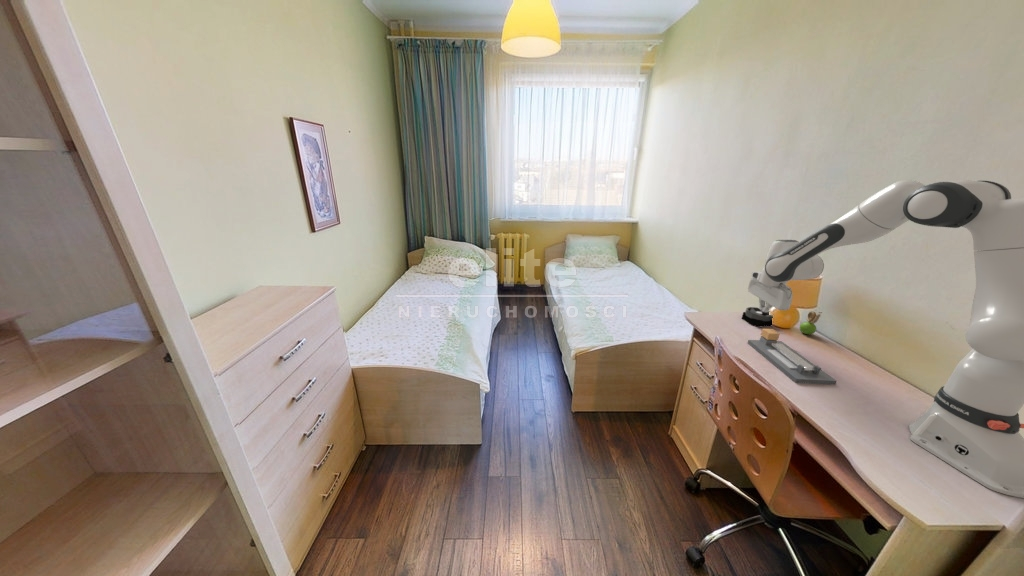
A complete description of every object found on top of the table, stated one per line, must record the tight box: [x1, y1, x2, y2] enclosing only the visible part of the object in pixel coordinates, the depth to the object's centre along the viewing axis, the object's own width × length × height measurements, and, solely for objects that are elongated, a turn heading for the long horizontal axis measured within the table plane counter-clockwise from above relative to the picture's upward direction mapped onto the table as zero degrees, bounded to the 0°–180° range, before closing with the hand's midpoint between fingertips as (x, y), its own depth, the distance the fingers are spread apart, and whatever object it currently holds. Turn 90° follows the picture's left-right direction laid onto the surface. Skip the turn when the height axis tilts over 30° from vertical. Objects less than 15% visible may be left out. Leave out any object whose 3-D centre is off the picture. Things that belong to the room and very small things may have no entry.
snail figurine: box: [799, 311, 823, 335], centre depth 140 cm, size 5×6×12 cm
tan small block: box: [760, 328, 781, 341], centre depth 130 cm, size 4×4×3 cm
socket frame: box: [747, 335, 838, 385], centre depth 121 cm, size 26×13×4 cm, turn 177°
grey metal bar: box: [772, 343, 816, 371], centre depth 119 cm, size 17×4×1 cm, turn 177°
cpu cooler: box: [741, 306, 774, 328], centre depth 151 cm, size 10×6×10 cm
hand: (763, 310), depth 134 cm, fingers closed
